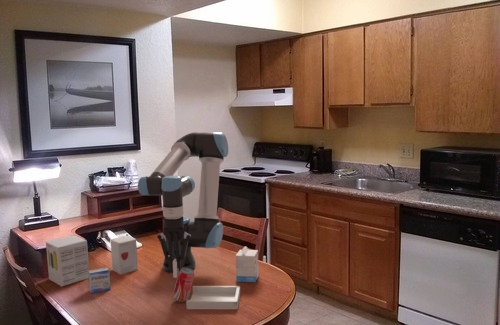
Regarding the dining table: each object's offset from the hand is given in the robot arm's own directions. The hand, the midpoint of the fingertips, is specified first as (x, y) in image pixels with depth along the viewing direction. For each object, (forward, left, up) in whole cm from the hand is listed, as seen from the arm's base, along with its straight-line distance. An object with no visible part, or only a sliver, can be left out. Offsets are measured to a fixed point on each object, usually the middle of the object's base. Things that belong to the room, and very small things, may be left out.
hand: (176, 276), depth 168 cm
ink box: (-22, +26, -10) cm, 36 cm away
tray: (0, +15, -10) cm, 18 cm away
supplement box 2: (-32, -32, -10) cm, 46 cm away
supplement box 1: (-22, -54, -10) cm, 59 cm away
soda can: (0, +1, -9) cm, 9 cm away
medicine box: (-10, -35, -10) cm, 38 cm away
